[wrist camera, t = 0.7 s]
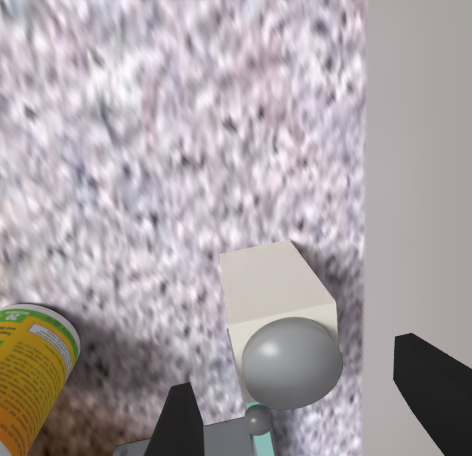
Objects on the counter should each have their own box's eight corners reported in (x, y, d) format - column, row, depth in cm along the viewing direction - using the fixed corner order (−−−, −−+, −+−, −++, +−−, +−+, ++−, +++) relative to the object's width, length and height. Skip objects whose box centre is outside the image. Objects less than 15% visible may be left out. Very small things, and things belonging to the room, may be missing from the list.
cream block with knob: (296, 298, 17) (349, 399, 11) (232, 312, 17) (248, 423, 11) (289, 239, 16) (346, 316, 9) (219, 253, 16) (229, 341, 9)
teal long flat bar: (277, 462, 22) (289, 517, 19) (259, 466, 22) (269, 522, 19) (252, 329, 17) (262, 373, 14) (229, 334, 17) (235, 379, 14)
